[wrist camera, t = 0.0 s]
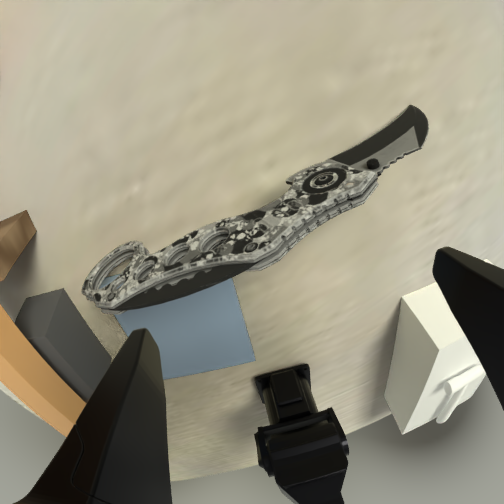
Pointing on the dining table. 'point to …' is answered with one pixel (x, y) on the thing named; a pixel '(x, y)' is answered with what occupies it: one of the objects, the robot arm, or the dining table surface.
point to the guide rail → (14, 240)
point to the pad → (194, 330)
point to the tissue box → (429, 361)
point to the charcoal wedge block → (64, 341)
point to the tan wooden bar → (35, 379)
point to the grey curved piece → (254, 226)
